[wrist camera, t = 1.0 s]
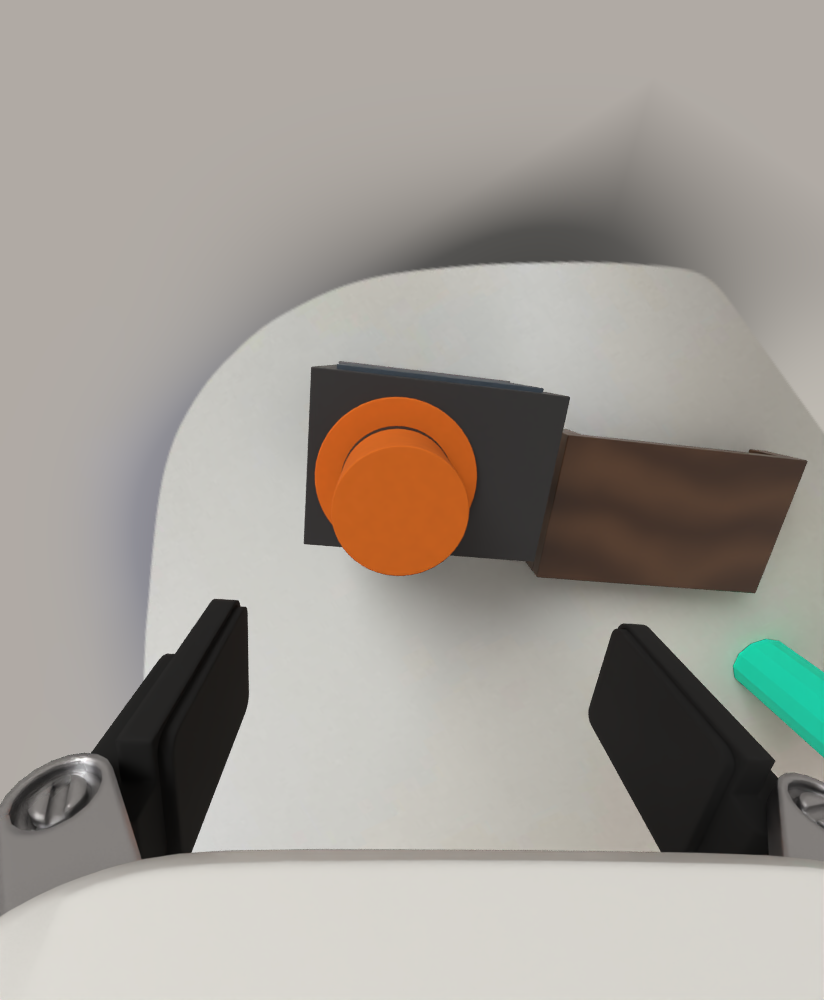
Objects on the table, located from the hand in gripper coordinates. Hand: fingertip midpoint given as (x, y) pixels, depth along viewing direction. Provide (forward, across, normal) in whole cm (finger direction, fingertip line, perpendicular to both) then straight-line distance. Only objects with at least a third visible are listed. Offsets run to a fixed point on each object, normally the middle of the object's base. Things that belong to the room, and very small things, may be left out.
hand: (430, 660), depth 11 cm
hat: (+14, 0, 0) cm, 15 cm away
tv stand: (+26, -22, +3) cm, 35 cm away
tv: (+26, -1, -1) cm, 27 cm away
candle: (+26, -40, +20) cm, 52 cm away
